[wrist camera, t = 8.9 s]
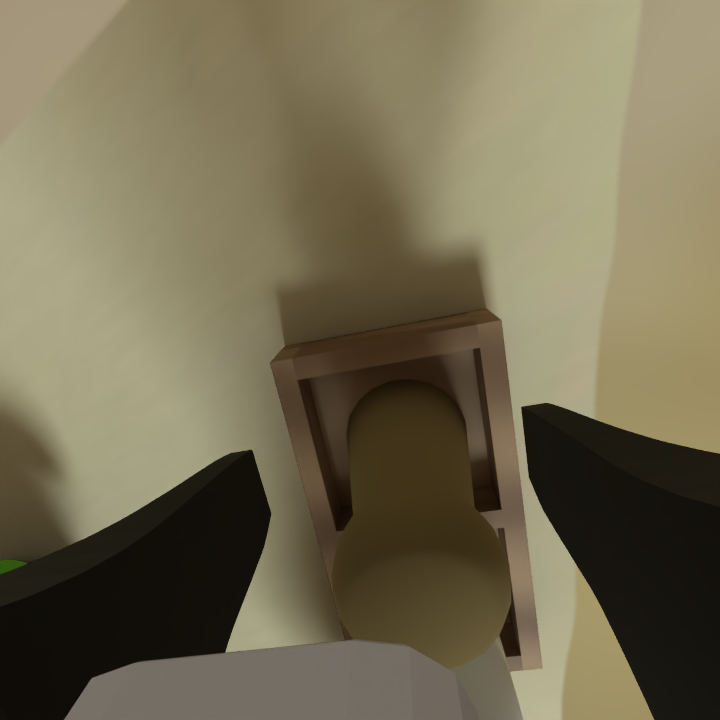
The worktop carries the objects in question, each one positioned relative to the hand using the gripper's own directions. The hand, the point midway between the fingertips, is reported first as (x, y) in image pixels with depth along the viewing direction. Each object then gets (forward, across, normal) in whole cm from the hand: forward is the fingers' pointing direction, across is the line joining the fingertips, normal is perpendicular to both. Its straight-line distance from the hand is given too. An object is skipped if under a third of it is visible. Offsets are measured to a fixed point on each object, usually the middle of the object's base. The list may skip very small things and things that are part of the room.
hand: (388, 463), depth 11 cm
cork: (+10, 0, +4) cm, 11 cm away
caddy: (+10, 0, +8) cm, 13 cm away
